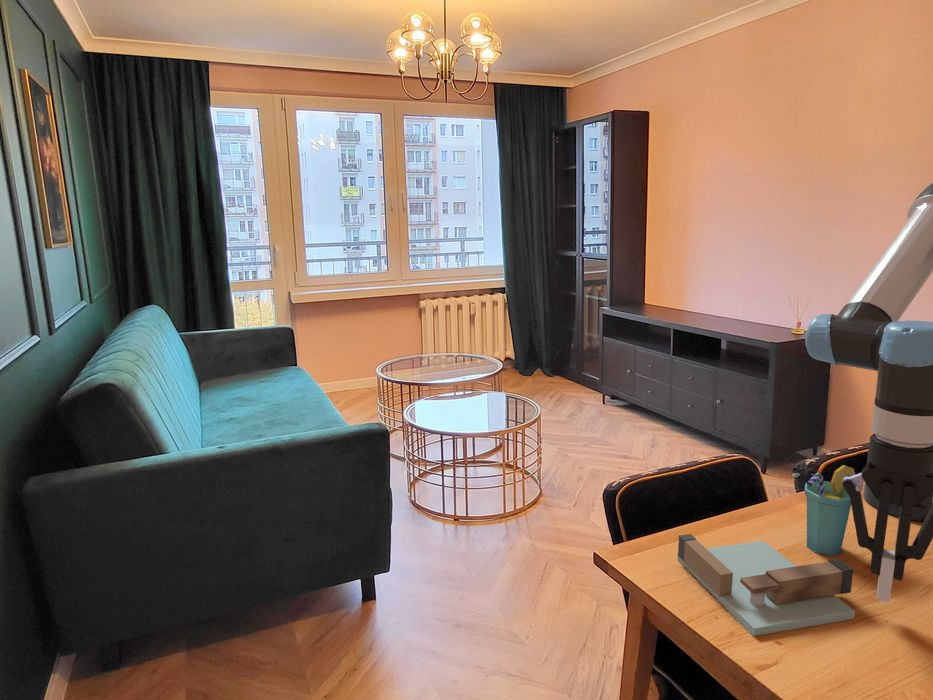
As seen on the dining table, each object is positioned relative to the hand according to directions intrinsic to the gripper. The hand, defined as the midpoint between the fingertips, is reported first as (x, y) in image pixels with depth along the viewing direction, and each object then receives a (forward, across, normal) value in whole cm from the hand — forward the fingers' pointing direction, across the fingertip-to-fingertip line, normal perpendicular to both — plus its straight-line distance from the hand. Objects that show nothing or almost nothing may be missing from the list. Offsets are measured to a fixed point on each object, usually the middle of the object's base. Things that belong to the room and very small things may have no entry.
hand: (883, 596), depth 89 cm
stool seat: (+3, +16, +1) cm, 16 cm away
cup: (+3, +9, -16) cm, 18 cm away
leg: (+2, +11, +3) cm, 11 cm away
